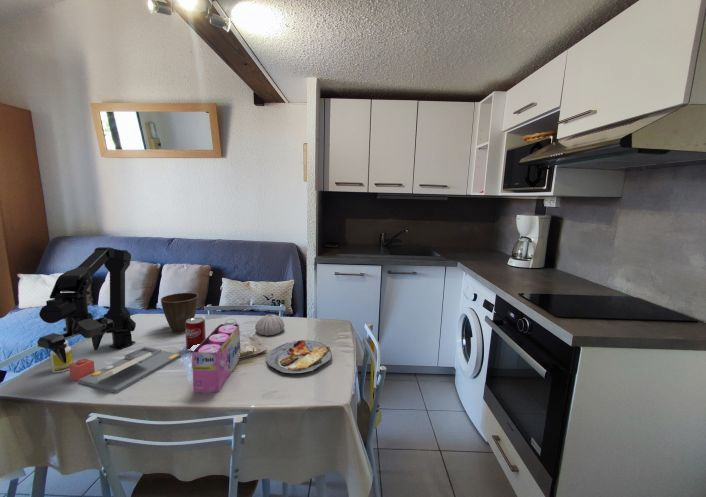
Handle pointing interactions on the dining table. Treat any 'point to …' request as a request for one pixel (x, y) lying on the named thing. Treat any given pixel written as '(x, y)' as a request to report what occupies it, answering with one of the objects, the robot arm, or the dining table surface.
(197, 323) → the soda can
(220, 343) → the gum box
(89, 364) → the red block
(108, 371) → the yellow-striped white slab
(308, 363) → the food plate
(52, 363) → the supplement bottle
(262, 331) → the sea urchin shell
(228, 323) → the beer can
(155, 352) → the socket
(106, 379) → the panel
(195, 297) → the plant pot
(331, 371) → the dining table surface
